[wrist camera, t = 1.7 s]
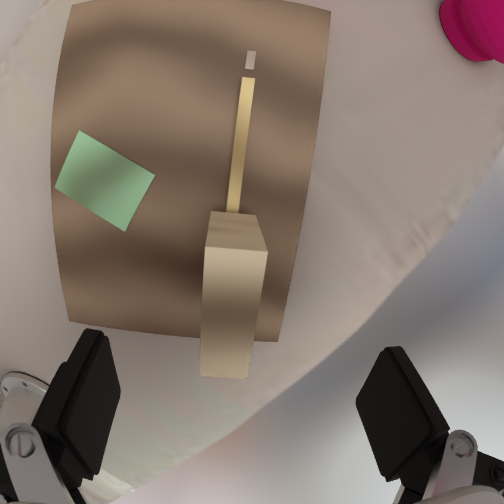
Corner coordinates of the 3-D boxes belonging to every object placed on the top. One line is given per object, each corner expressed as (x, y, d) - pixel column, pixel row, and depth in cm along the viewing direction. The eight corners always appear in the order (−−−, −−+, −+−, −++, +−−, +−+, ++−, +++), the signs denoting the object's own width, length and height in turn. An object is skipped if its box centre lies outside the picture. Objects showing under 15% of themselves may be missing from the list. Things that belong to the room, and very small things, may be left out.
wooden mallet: (240, 304, 21) (247, 378, 14) (205, 302, 20) (199, 376, 14) (268, 82, 15) (296, 55, 9) (226, 77, 15) (227, 45, 8)
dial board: (274, 330, 24) (277, 343, 23) (76, 311, 22) (68, 322, 20) (324, 18, 15) (332, 10, 13) (81, 10, 13) (71, 4, 11)
